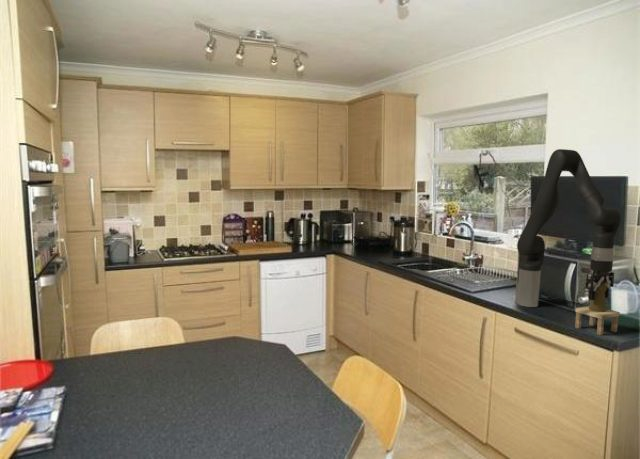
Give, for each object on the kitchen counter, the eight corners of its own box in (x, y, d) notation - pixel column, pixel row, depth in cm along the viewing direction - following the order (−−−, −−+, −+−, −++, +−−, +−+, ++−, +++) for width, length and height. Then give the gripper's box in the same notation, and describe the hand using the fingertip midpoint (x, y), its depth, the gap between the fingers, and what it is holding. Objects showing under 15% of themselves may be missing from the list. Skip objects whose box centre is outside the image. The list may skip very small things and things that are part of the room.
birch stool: (574, 327, 189) (575, 308, 188) (591, 323, 194) (592, 305, 193) (600, 335, 179) (602, 315, 179) (617, 331, 184) (619, 312, 184)
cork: (600, 308, 189) (603, 281, 188) (609, 312, 183) (611, 284, 182) (585, 307, 189) (587, 281, 188) (593, 311, 183) (595, 284, 182)
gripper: (603, 256, 190) (600, 294, 192) (581, 258, 184) (577, 298, 186) (622, 259, 183) (618, 299, 185) (599, 261, 177) (596, 303, 179)
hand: (598, 298), depth 185 cm, fingers open, 8 cm apart
